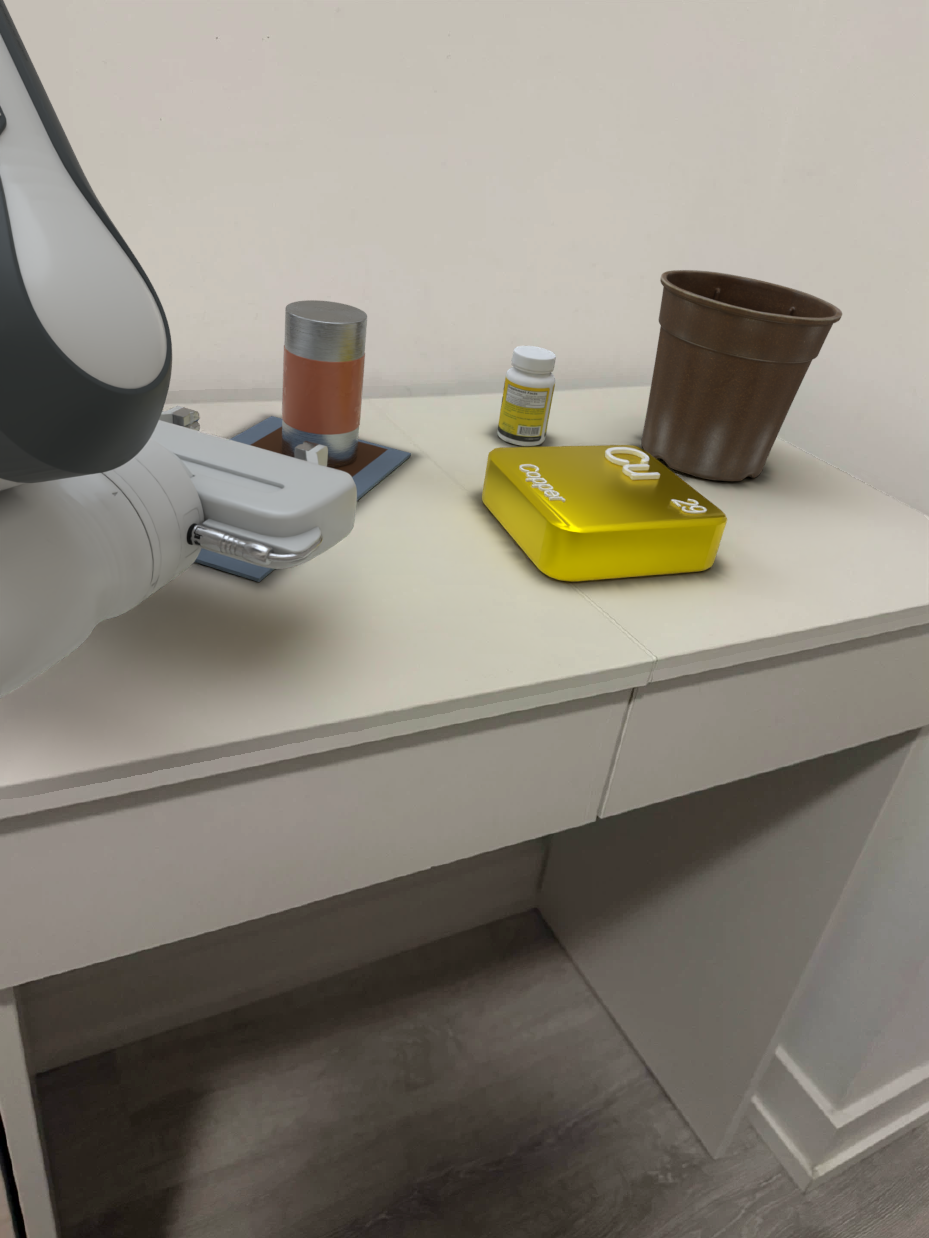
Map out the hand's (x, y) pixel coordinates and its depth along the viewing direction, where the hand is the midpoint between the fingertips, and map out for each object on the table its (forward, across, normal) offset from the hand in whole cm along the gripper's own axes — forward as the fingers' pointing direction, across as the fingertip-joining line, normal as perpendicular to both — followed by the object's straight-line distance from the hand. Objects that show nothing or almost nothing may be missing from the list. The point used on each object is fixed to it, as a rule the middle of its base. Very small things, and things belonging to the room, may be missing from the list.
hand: (252, 436), depth 60 cm
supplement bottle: (+33, -10, +8) cm, 35 cm away
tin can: (+17, +3, +8) cm, 19 cm away
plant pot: (+40, -27, +8) cm, 49 cm away
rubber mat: (+9, +4, +8) cm, 13 cm away
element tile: (+17, -21, +8) cm, 28 cm away
